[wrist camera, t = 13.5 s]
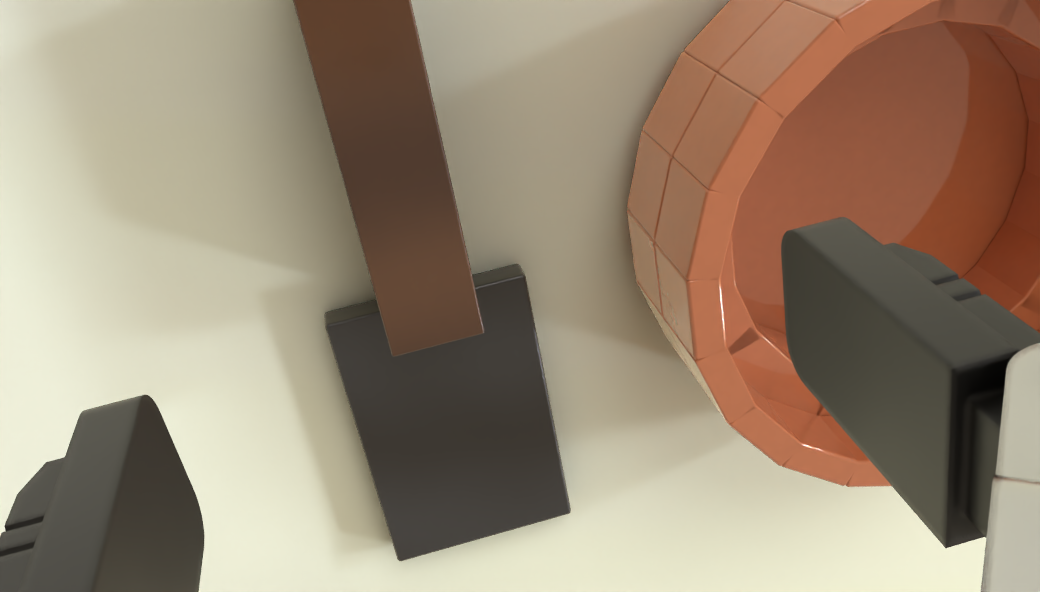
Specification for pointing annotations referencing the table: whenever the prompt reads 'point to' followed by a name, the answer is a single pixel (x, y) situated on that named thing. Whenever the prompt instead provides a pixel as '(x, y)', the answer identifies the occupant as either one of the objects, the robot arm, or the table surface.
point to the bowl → (831, 183)
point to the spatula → (426, 305)
